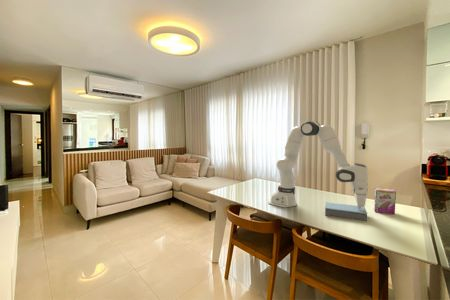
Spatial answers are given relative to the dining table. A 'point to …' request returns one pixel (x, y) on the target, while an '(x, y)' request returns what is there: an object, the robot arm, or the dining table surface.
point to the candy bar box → (385, 201)
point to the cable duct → (346, 215)
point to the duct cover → (345, 208)
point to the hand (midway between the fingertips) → (359, 208)
